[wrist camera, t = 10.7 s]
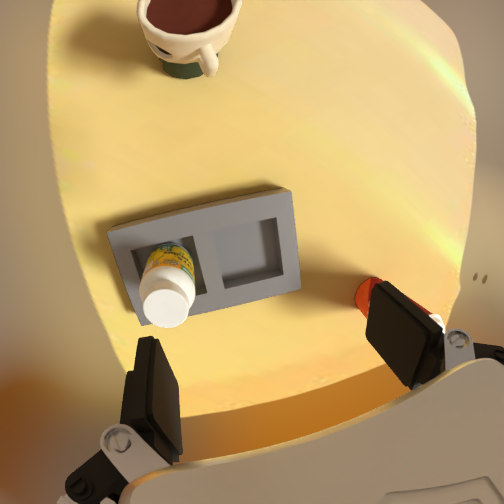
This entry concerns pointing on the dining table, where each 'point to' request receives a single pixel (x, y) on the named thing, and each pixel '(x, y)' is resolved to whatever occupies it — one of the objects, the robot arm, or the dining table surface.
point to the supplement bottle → (168, 285)
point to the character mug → (188, 33)
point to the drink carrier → (218, 249)
